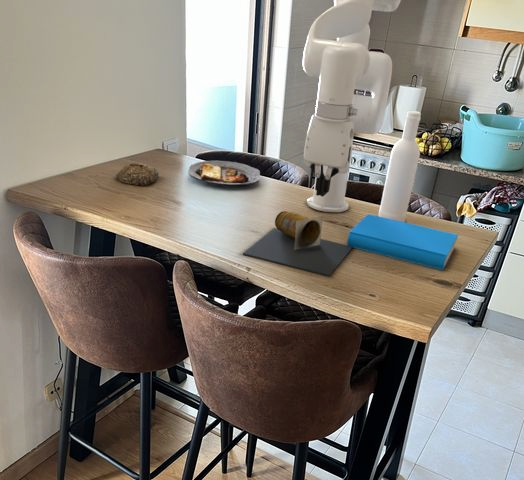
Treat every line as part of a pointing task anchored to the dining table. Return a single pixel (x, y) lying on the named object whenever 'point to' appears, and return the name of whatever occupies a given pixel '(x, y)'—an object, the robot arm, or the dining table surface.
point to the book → (403, 241)
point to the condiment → (300, 228)
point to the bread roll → (137, 174)
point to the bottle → (401, 171)
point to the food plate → (224, 173)
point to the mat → (299, 253)
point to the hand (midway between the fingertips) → (321, 194)
